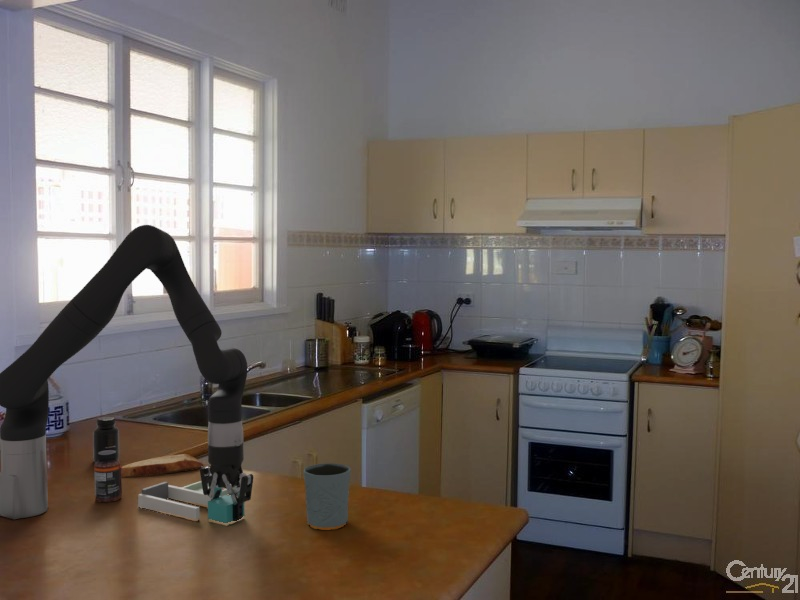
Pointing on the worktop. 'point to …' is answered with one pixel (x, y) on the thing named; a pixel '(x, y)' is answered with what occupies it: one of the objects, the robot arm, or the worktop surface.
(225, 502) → the teal block
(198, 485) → the tray
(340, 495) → the grey blue cup
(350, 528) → the worktop surface
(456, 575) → the worktop surface
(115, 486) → the supplement bottle
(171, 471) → the bread slice
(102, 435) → the supplement bottle
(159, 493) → the white u-shaped frame
